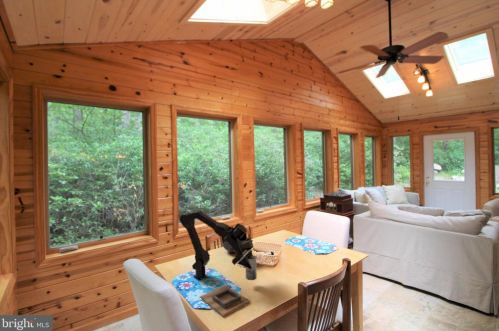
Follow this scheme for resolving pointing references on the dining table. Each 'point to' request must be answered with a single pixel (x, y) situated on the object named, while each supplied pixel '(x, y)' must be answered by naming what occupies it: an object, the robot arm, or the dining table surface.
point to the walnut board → (224, 300)
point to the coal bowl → (228, 244)
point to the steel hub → (251, 273)
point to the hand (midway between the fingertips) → (253, 266)
